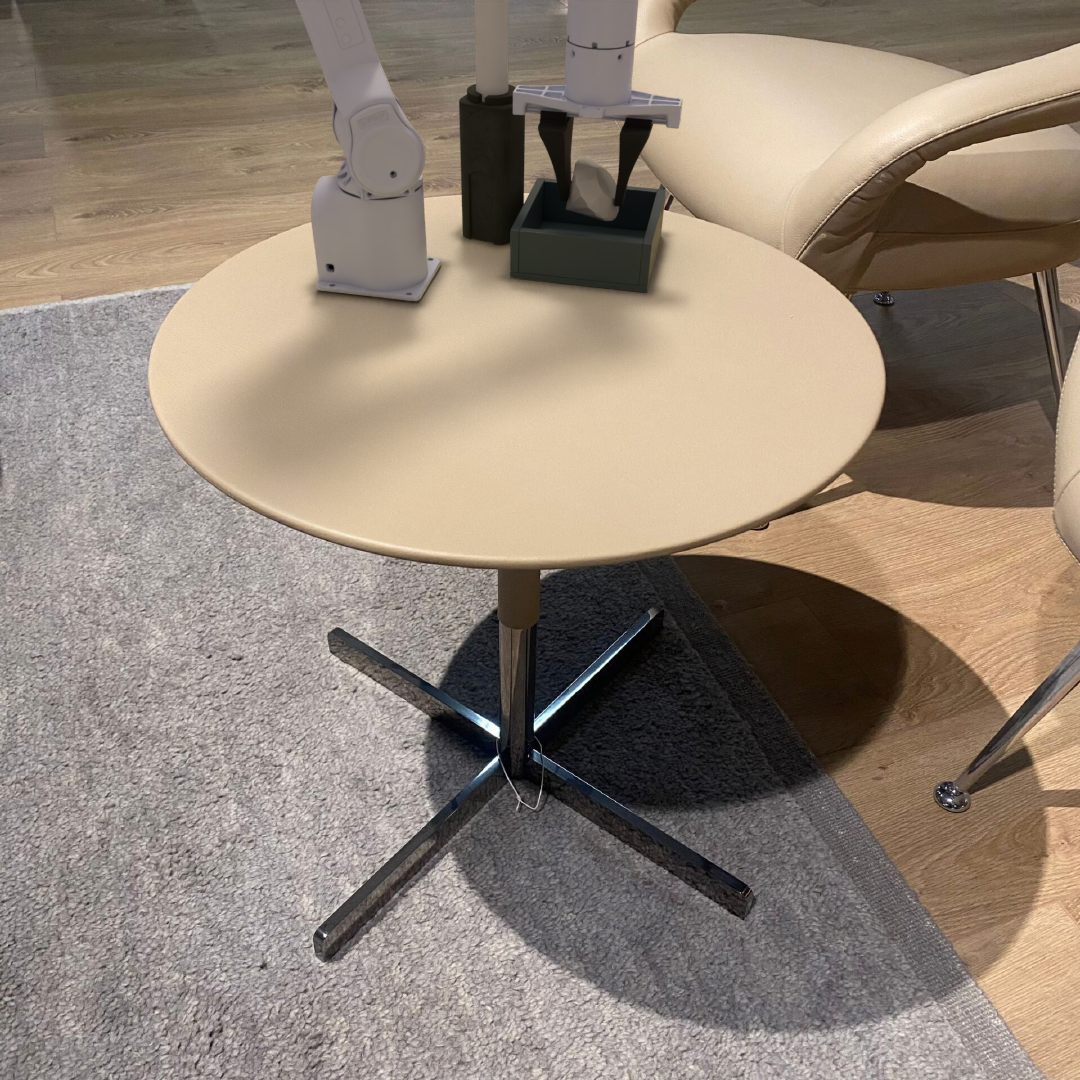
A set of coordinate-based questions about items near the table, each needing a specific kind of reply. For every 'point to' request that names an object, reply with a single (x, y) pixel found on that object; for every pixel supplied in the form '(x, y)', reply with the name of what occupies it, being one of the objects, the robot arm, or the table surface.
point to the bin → (587, 240)
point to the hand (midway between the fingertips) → (591, 199)
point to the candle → (491, 134)
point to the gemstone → (592, 191)
